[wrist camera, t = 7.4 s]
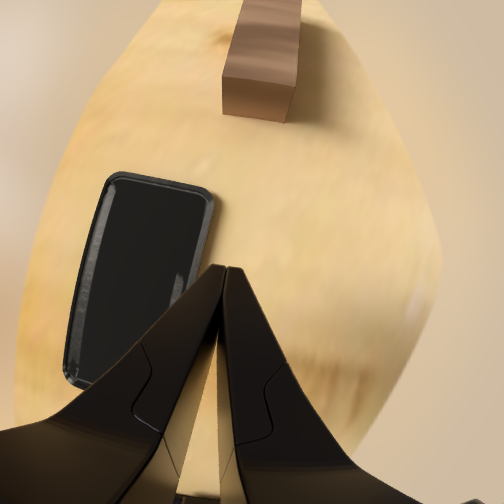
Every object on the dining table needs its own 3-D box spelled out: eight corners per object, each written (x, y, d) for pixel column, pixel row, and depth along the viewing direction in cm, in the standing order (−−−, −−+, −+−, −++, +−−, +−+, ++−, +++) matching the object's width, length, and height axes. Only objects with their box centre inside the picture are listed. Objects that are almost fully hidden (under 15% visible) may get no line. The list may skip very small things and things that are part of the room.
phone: (61, 380, 17) (109, 168, 19) (68, 376, 18) (115, 174, 20) (166, 419, 17) (219, 191, 19) (169, 413, 18) (220, 196, 20)
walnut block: (295, 86, 17) (302, -14, 18) (221, 76, 16) (250, -22, 18) (283, 123, 21) (294, 20, 23) (222, 114, 21) (247, 13, 23)
